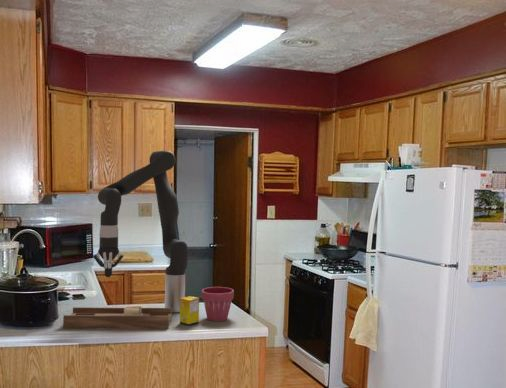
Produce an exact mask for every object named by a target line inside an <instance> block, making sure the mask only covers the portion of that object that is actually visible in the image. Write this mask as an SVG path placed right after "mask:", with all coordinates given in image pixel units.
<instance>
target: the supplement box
mask: <svg viewBox="0 0 506 388" xmlns="http://www.w3.org/2000/svg"><path fill="white" fill-rule="evenodd" d="M199 316H200V297H196V296H192V295H189V296H185V297H183V298H180V312H179V324H181V325H184V326H188V327H190V326H193V325H196V324H199V323H200V321H199V319H200V317H199Z"/></svg>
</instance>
